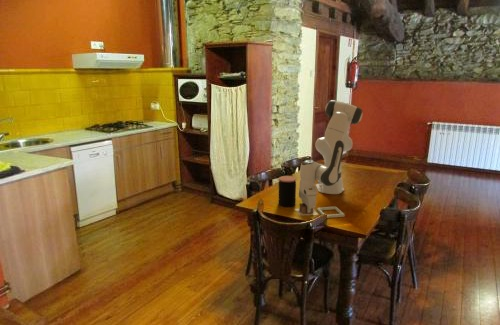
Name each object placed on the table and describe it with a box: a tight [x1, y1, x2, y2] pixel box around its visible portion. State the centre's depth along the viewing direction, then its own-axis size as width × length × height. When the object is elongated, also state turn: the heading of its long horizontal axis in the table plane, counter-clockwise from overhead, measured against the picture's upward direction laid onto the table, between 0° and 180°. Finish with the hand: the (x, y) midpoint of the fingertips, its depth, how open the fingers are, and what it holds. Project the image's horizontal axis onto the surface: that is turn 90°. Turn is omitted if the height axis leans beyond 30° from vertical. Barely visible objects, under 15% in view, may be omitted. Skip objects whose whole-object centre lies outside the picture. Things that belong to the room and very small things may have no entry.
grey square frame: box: [316, 206, 345, 219], centre depth 206 cm, size 12×12×2 cm
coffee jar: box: [278, 175, 297, 208], centre depth 219 cm, size 11×11×18 cm
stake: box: [294, 204, 320, 217], centre depth 208 cm, size 11×11×6 cm
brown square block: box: [298, 202, 315, 214], centre depth 208 cm, size 6×6×4 cm
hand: (306, 209), depth 209 cm, fingers closed on brown square block, 6 cm apart
